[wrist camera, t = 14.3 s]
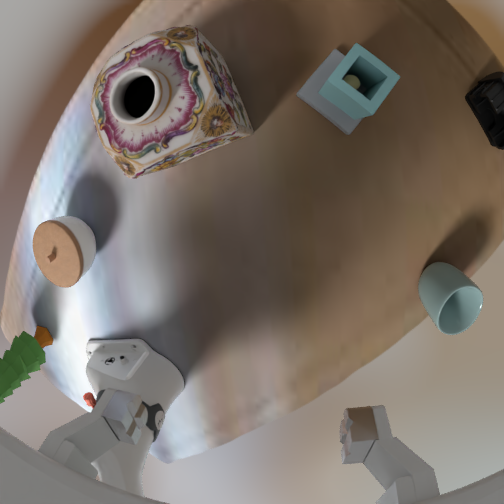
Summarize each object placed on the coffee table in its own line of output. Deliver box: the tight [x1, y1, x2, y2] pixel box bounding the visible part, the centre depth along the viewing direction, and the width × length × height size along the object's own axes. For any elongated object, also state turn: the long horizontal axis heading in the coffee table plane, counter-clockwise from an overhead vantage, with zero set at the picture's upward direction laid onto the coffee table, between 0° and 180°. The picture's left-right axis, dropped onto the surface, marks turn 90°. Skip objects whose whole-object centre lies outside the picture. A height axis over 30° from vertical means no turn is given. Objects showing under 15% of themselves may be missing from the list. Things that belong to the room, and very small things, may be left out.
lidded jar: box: [33, 216, 96, 287], centre depth 39 cm, size 11×11×9 cm
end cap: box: [465, 72, 504, 150], centre depth 25 cm, size 10×7×7 cm
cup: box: [418, 262, 483, 335], centre depth 35 cm, size 8×8×10 cm
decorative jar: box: [90, 25, 254, 178], centre depth 26 cm, size 12×12×18 cm
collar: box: [318, 43, 400, 120], centre depth 26 cm, size 5×5×8 cm
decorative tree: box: [0, 326, 53, 403], centre depth 41 cm, size 10×9×30 cm
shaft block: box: [296, 49, 367, 135], centre depth 29 cm, size 8×8×7 cm
